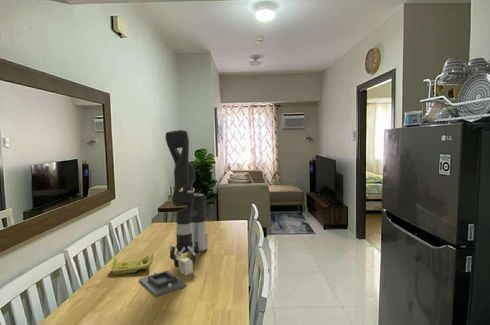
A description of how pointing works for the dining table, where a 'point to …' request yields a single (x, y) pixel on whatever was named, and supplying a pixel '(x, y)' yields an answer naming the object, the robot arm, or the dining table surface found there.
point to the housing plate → (162, 283)
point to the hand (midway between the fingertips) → (184, 264)
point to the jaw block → (186, 266)
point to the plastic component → (131, 265)
